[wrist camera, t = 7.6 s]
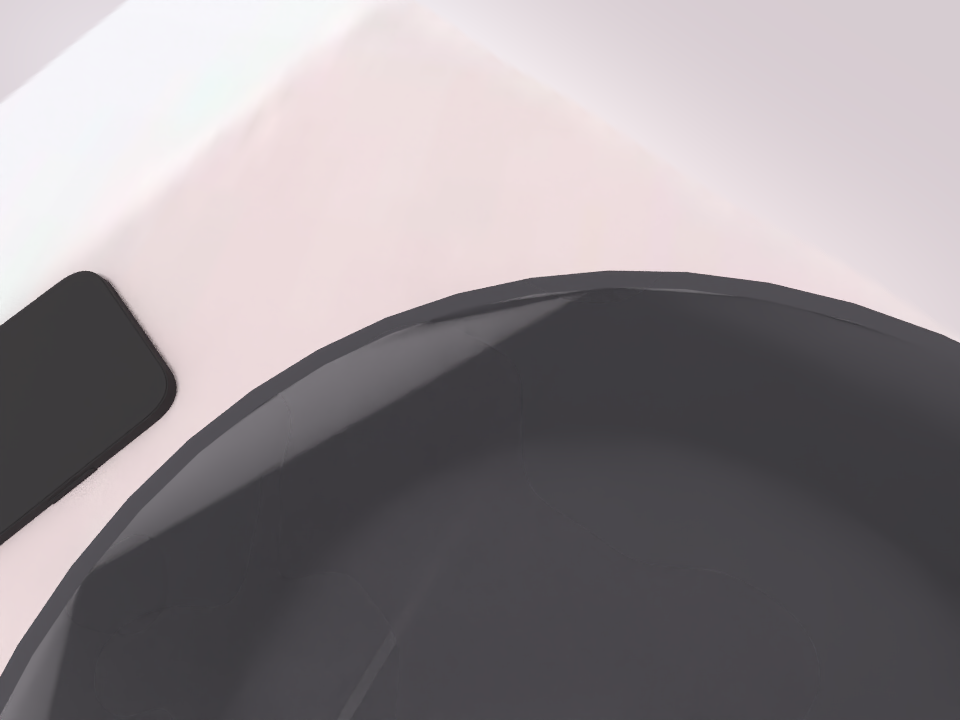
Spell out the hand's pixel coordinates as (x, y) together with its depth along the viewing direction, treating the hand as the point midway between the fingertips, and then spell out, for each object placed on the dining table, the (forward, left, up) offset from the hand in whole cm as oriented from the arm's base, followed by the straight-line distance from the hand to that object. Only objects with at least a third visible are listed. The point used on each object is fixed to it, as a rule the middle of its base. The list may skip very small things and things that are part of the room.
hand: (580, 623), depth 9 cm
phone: (+21, +4, -11) cm, 25 cm away
